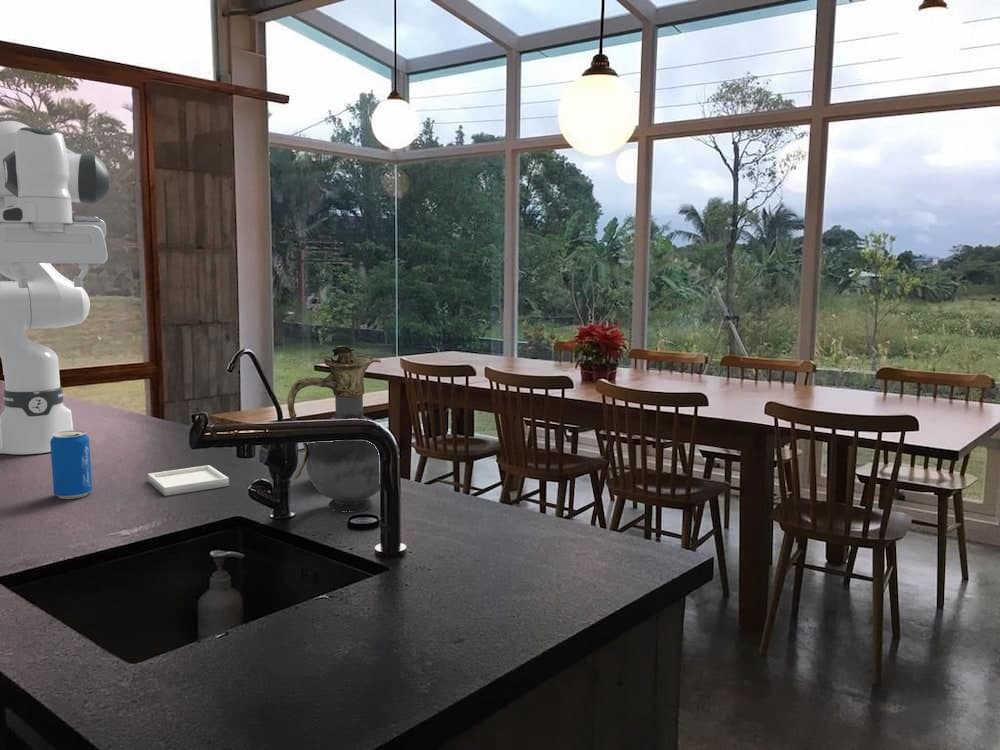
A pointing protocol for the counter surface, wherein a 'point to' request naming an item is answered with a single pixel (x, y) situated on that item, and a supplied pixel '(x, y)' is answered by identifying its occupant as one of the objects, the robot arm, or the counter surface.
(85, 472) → the beverage can
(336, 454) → the pitcher
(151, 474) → the tray
